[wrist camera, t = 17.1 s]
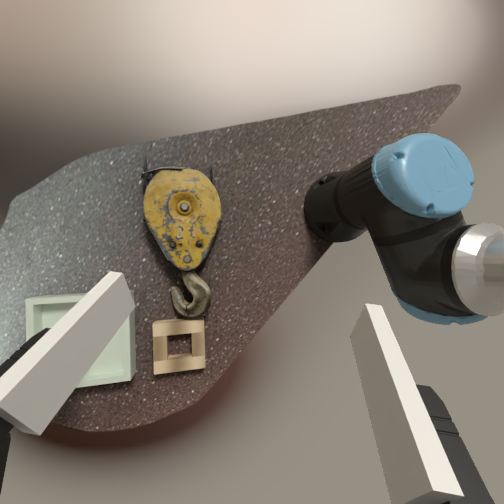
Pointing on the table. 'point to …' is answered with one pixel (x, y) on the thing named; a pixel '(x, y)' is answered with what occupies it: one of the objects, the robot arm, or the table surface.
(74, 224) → the table surface
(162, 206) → the pulley block
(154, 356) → the bracket
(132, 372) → the pale green tray
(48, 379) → the robot arm
